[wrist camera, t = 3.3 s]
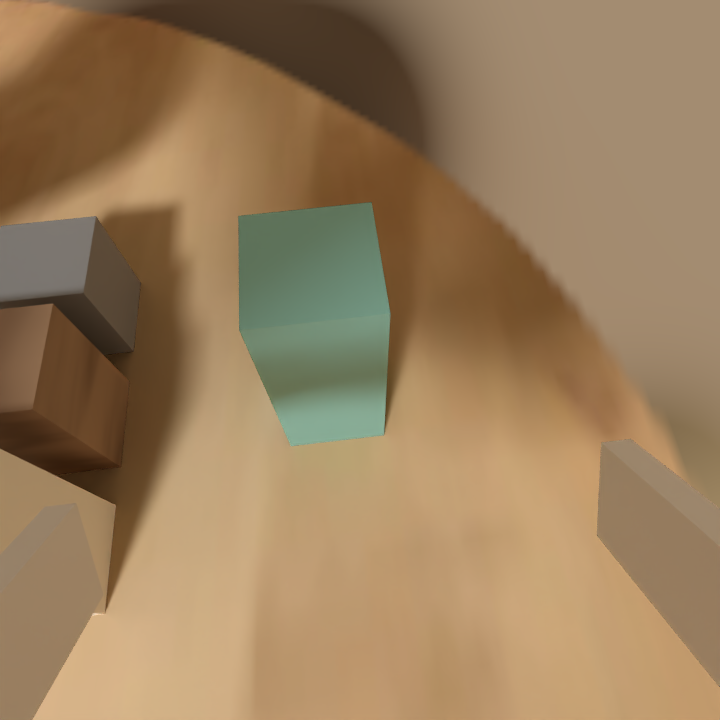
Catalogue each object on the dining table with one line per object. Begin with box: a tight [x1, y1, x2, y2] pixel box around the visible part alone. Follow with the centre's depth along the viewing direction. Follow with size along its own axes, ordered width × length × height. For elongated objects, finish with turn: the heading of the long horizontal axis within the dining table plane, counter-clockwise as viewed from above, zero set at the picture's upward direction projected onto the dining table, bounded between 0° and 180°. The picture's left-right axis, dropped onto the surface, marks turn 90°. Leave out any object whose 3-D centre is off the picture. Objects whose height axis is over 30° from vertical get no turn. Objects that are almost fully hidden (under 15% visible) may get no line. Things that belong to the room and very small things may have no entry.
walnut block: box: [0, 304, 130, 475], centre depth 25 cm, size 5×5×8 cm
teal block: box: [238, 202, 390, 446], centre depth 24 cm, size 5×5×12 cm
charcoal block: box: [0, 216, 141, 355], centre depth 29 cm, size 5×5×6 cm
